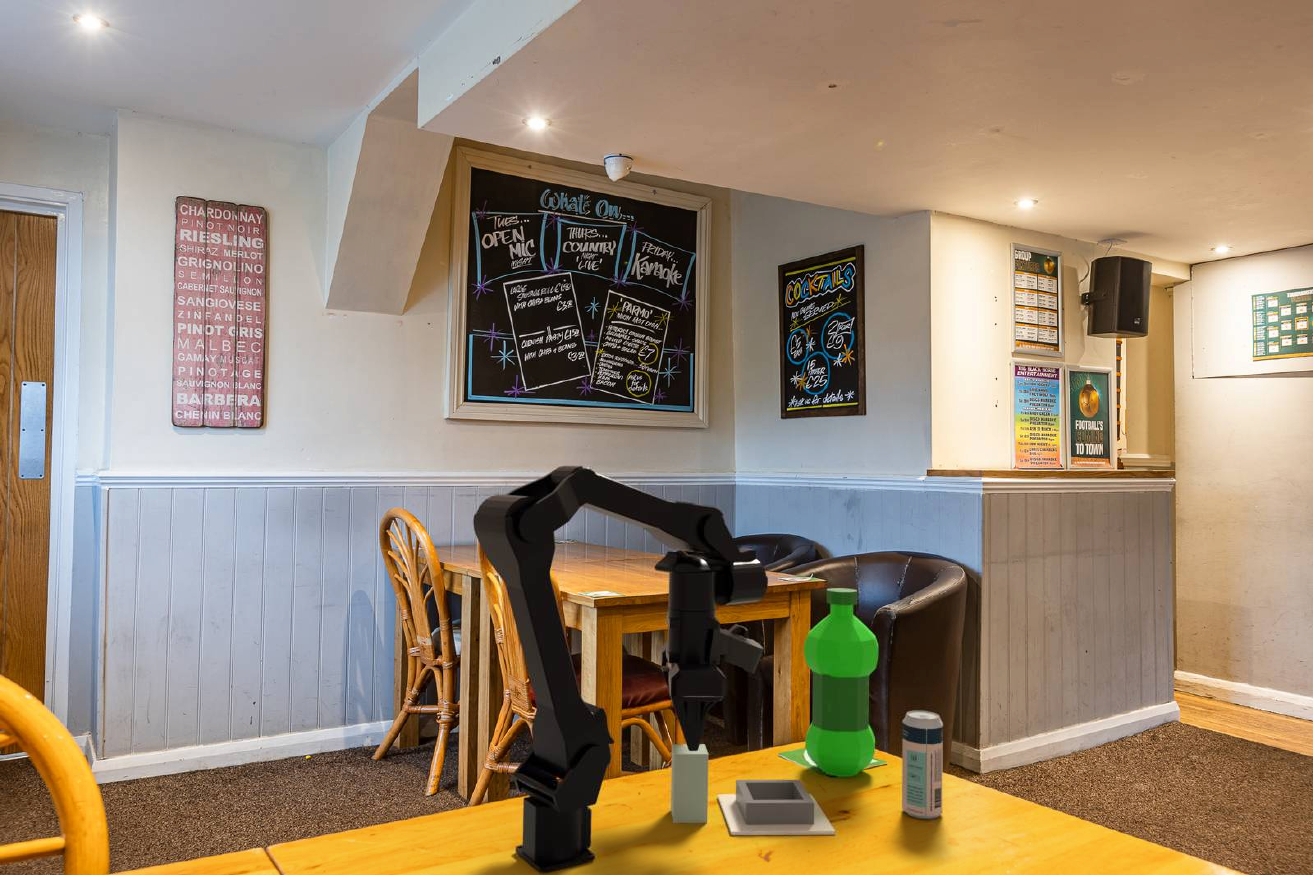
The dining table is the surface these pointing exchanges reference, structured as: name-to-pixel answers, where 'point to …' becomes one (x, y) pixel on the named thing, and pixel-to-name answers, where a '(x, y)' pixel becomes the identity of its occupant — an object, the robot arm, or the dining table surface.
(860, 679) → the plastic bottle
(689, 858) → the dining table surface
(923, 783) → the beer can
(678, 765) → the sage block
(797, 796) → the socket
